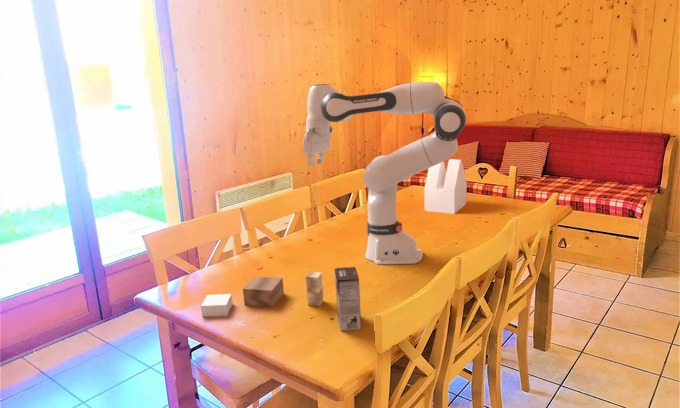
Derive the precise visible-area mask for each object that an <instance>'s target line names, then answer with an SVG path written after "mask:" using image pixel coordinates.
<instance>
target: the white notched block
mask: <svg viewBox="0 0 680 408" xmlns="http://www.w3.org/2000/svg"><path fill="white" fill-rule="evenodd" d="M425 179H426V181H425V184H424V189H423V190H424V196H423V197H424V211H425V212H432V213H434V212H435V213H440V214H443V213H444V214H452V215H454V214H456V213H457V212H458V211H459V210H460V209H462V208H463V207H464V206H465V205H467V189H468V188H467V187H468V186H467V179H466V174H465V169H464V165H463V160H462V159H456V158H453V159H452V158H451V159H450V158H449V159H448V163H447V168H446V165H445V162H444V161H443V162H441V163H439V164H437V165H435V166H432V167H430V168H428V169H427V176H426V178H425Z"/></svg>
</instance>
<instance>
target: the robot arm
mask: <svg viewBox="0 0 680 408" xmlns="http://www.w3.org/2000/svg"><path fill="white" fill-rule="evenodd" d="M306 102H307V103H306V108H307V109H306V110H307V116H306V119H305V120H306V122H305V134H304V137H303V142H302V143H303V144H302V153H303V154H304V155H305V154H306V155H307V160H308V161H307V163H308V164H307V165H308V166H309V167H313V166H315V160H314V157H315V154H318V156H317V158H316V164H317V165H318V164H319V165H321V164H323V160H324V156H325V152H329V149H330V146H331V138H332V137H331V135H332V133H333V127H332V126H331V122H332V123H338V122H344V121H348V120H350V119H352V118H353V117H354V116H355V115H358V114H366V113H378V112H379V113H386V114H390V115H398V116H399V115H401V116H409V115H410V116H411V115H419V114H429V115H431V116H432V117H433V119H434V127H435V128H434V129H435V130H434V131H433V132H431V133H430V134H429V135H427V136H424V137H422V138H420V139H417V140H415V141H413V142H411V143H409V144H407V145H404V146H402V147H401V148H399V149H397V150H395V151H393V152H391V153H389V154H388V155H379V156H376V157H375V158H373V159H372V161H370V162H369V164H368V165H367V166H366V167H365V169H364V171H363V177H362V179H363V184H364V185H365V187H366V188H367V190H368V194H367V195H368V196H367V202H366V203H367V222H366V233H367V247H366V252H365V258H366V259H367V260H369V261H371V262H374V263H375V264H376V265H410V264H413V265H414V264H417V263H420V262H421V260H423V258H424V257H423V256H424V252H423V250H422V249H420V248H418V246H417V243H416V240H415V238H414V237H412V236H411V235H410V234H408V232H406V231H404V230H403V222H402V221H398V220H397V190H398V184H399V183H401V182H403V181H405V180H407V179H408V178H410V177H412V176H414V175H416V174H419V173H420V172H424V171H425V170H428V169H429V168H430V167H432V166H435V165H437V164H439V163H441V162H444V161H446V160H449V159H450V158H452V157H453V156H454V155H455V154H456V153H457V152H458V150H459V149H458V148H459V144H458V139H457V138H458V136H459V135H460V134H461V133H462V131H463V130H464V129H465V125H466V123H467V112H466V110H465V108H464V106H463V105H462V103H460V101H458V100H456V99H453V98H450V97H449V96H445V92H444V89H443V87H442V86H441V84H439V83H438V82H433V81H420V82H419V81H418V82H415V81H414V82H409V83H404V84H399V85H395V86H392V87H390V88H387V89H385V90H382V91H379V92H378V91H377V92H374V93H367V94H360V95H347V94H344V93H342V92H340V91H338V90H337V89H335V88H333V86H332V85H330V84H328V83H321V84H319V83H318V84H314V85H312V86H311V87H309V91H308V95H307V101H306Z"/></svg>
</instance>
